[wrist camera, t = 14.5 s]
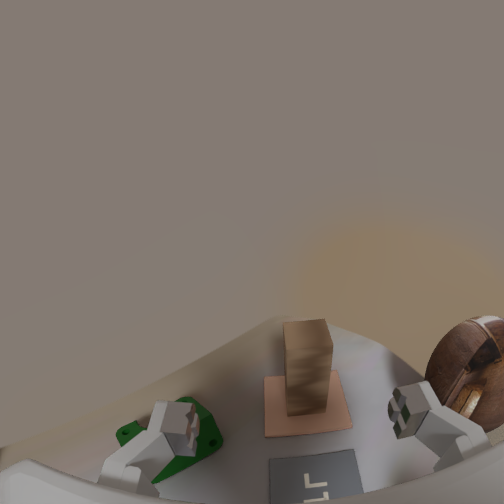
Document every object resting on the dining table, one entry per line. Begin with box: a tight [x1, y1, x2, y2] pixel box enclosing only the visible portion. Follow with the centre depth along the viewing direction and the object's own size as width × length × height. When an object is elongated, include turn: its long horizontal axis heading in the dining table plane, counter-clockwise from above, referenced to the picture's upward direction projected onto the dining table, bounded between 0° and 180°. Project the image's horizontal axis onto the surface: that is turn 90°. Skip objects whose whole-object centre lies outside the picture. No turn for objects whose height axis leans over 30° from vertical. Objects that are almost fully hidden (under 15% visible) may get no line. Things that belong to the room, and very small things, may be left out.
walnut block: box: [283, 319, 333, 417], centre depth 34 cm, size 5×5×12 cm
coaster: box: [264, 370, 352, 438], centre depth 36 cm, size 11×11×1 cm
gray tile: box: [270, 449, 364, 504], centre depth 23 cm, size 10×10×1 cm
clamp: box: [116, 397, 223, 484], centre depth 29 cm, size 12×6×9 cm, turn 124°
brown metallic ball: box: [424, 316, 504, 433], centre depth 25 cm, size 15×15×15 cm
